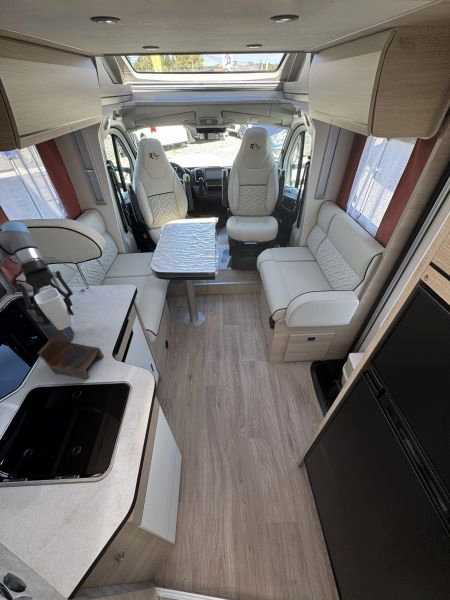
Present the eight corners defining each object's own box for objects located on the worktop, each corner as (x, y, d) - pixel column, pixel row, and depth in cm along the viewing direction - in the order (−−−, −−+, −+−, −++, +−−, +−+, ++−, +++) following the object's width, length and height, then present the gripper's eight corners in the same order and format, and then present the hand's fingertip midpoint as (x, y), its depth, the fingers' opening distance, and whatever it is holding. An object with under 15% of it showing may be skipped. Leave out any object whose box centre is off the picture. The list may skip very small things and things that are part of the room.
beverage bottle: (81, 327, 126) (58, 288, 110) (68, 348, 116) (40, 309, 100) (61, 327, 127) (35, 288, 110) (47, 348, 117) (15, 309, 100)
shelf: (54, 373, 107) (37, 352, 98) (73, 350, 116) (58, 330, 106) (87, 379, 104) (72, 359, 95) (104, 356, 113) (92, 335, 103)
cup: (52, 323, 100) (32, 295, 90) (72, 315, 103) (54, 286, 93) (58, 334, 95) (37, 305, 85) (77, 324, 99) (60, 295, 89)
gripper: (64, 257, 100) (90, 309, 101) (3, 276, 92) (32, 332, 92) (60, 251, 94) (88, 306, 94) (-6, 270, 85) (25, 331, 86)
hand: (60, 319), depth 93 cm, fingers closed on cup, 8 cm apart
